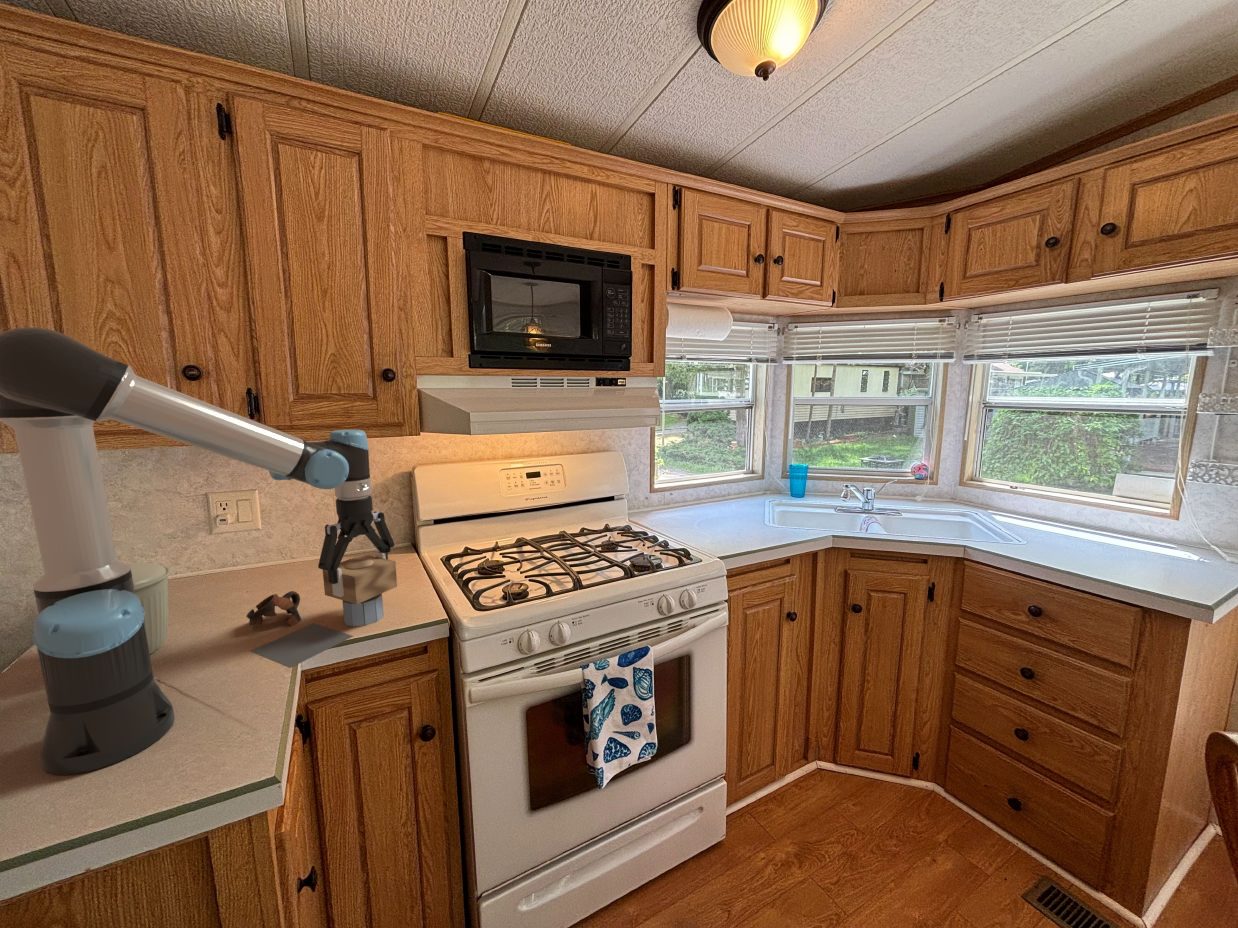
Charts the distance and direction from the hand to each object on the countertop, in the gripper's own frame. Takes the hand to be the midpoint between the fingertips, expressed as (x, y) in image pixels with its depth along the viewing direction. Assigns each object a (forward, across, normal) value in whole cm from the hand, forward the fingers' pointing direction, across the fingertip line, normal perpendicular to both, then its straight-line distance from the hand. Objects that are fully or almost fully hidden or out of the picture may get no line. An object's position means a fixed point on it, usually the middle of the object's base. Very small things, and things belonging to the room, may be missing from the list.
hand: (361, 586), depth 121 cm
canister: (+9, -33, +31) cm, 46 cm away
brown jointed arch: (+9, -10, +16) cm, 21 cm away
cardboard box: (+1, 0, 0) cm, 1 cm away
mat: (+9, -14, +2) cm, 16 cm away
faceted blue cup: (+9, 0, 0) cm, 9 cm away
